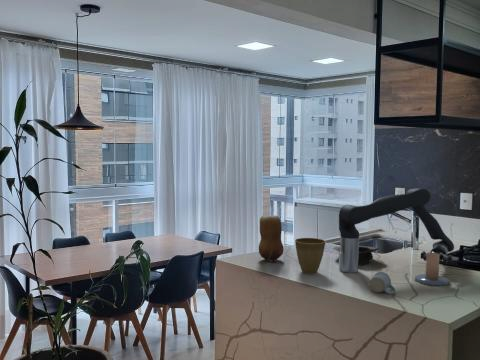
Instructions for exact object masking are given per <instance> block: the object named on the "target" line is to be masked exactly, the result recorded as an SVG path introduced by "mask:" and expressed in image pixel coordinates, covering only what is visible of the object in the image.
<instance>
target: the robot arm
mask: <svg viewBox="0 0 480 360" xmlns="http://www.w3.org/2000/svg"><path fill="white" fill-rule="evenodd" d="M431 198H432V195H431V192H430V191H429V190H428V189H426V188H423V187H415V188H410V189H409V190H407V191H406V193H402V194H391V195H387V196H383V197H379V198H376V199H375V200H374V201H372V202H371V203H369V204H366V205H359V206H357V205H356V206H355V205H353V204H344V205H342V206H341V208H339V209H340V210H339V212H338V231H339V234H340V237H339V238H340V239H339V241H340V242H339V247H340V250H339V251H338V270H339V272H343V273H357V272H358V271H359V265H358V253H359V246H360V232H359V230H358V229H357V228H356V225H358V224H361V223H364V222H366V221H368V220H371V219H375V218H380V217H383V216H384V217H385V216H387V215H388V216H389V215H391V214H394V213H398V212H401V211H403V210H406V209H409V208H411V209H412V210H413V211H414V212H415V214H416V215H417V217H418V218H419V219H420V221H421V222H422V224H423V226H424V227H425V229H426V231H427V233H428V235H429V237H430V238H431V239H432V240H433V241H435V240H437V241H436V242H433V244H432V248H431V250H430V252H433V253H438V254H440V256H439V263H441V262H443V264H447V263H452V262H453V254H448V253H451V252H453V251H454V249H455V245H454V242H453V241H452V240H451V239H450V238H449V237H448V236H447V234H446V233H445V232H444V230H443V229H442V227H441V225H440V222H438V220H437V218H435V217H434V215H432V214H431V212H429V211H428V210H427V208H426V206H425V205H427V204H428V203H429V202H430V200H431ZM427 253H428V252H426V251H422V252H421V253H420V259H421V260H423V261H425V262H426V258H427Z"/></svg>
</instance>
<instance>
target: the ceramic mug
mask: <svg viewBox="0 0 480 360" xmlns="http://www.w3.org/2000/svg"><path fill="white" fill-rule="evenodd" d="M391 283H392V279H391V276H390V275H389V274H387V273H385V272H384V271H379V272H376V273H375V274H374V275H373V276H372V277H371V279H370V280H369V288H370V289H371V290H372V292H374V293H382V292H385V293H387V294H390V295H394V294H395V293H396V291H397V290H396V288H395V287H394V286H393V285H392V284H391Z"/></svg>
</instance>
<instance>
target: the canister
mask: <svg viewBox="0 0 480 360" xmlns="http://www.w3.org/2000/svg"><path fill="white" fill-rule="evenodd" d="M426 253H427V258H426V261H425V274H426V276H425V278H426V279H428V280H438V276H439V271H440V262H439V256H440V254H438V253H433V252H431V251H429V252H426Z"/></svg>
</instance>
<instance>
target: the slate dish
mask: <svg viewBox="0 0 480 360" xmlns="http://www.w3.org/2000/svg"><path fill="white" fill-rule="evenodd" d="M425 276H426V273H423V274H422V273H421V274H417V275H414V281H415V282H417V283H418V282H419V284H421V285H426V286H429V287H430V286H431V287H444V286H445V287H446V286H448V285H449V284H450V280H449V278H447V277H444V276H441V275H438V280H428V279H426V278H425Z"/></svg>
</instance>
